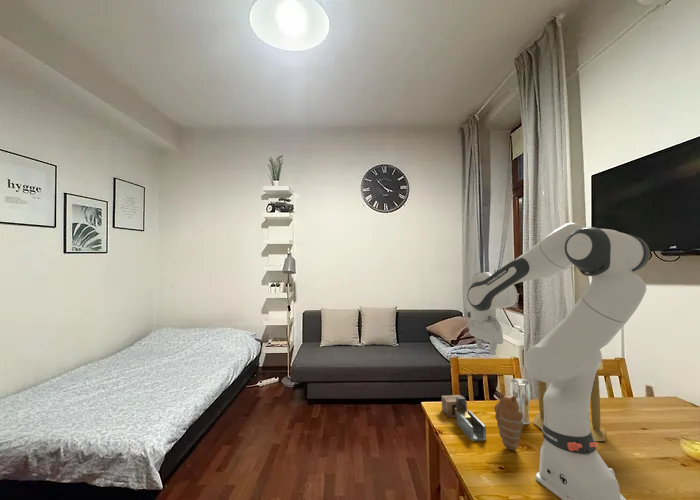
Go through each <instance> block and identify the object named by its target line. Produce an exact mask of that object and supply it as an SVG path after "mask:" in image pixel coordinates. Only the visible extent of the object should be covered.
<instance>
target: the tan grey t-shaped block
mask: <svg viewBox="0 0 700 500" xmlns="http://www.w3.org/2000/svg"><path fill="white" fill-rule="evenodd" d="M466 399H467V398H465V396H462V397H456V405H452V413H453V414H454V415H455V416H456V417H455V418H457V411H459V412H460V413H461V414H462V415H463V416H464V417H465V418H466V419H467V421H468V422H469V423H470V424H471V425H472V419H471V416H470V415H469V414H468V411H467V412H466V401H467V400H466Z"/></svg>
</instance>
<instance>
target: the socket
mask: <svg viewBox="0 0 700 500" xmlns="http://www.w3.org/2000/svg"><path fill="white" fill-rule="evenodd" d="M456 397H463V395H461V394H450V395H448V394H447V395H441V411H442V413H443V414H444V415H445V414H446V415H447V416H446V415H445V416H446V417H447V418H457V417H456V416H455V415H454V414H453V413H452V405H456ZM467 402H468V401H467V400H466V412H467V413H468V403H467Z"/></svg>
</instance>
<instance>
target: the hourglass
mask: <svg viewBox="0 0 700 500" xmlns="http://www.w3.org/2000/svg"><path fill="white" fill-rule="evenodd" d="M603 369H604V363H603V362H601V364H600V366H599V367H598V369H597V371H596V374H595V378H594V382H593V387H592V391H591V396H590V413H591V414H590V415H591V420H590V431H591V433H592V436H593V438H594V442H606V439H607V436H606V435H607V434H606V429H605V428H603V427H602V426H601V396H600V394H601V393H600V380H599V379H600V378H599V371H600V370H603ZM537 390H538V391H537V392H538V411H539V413H536V415H535V416H534V419H533V421H532V423H533V424H534V425H535V426H537V428H539V429H540V430H541V431H542V426H543V422H544V402H543V398H544V394H545V392H546V390H547V382H541V381H538V380H537Z"/></svg>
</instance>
